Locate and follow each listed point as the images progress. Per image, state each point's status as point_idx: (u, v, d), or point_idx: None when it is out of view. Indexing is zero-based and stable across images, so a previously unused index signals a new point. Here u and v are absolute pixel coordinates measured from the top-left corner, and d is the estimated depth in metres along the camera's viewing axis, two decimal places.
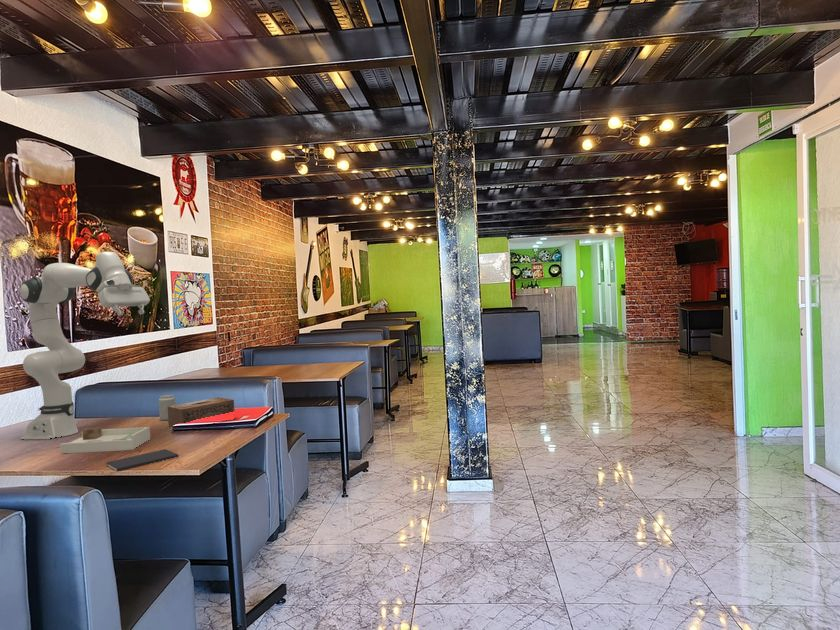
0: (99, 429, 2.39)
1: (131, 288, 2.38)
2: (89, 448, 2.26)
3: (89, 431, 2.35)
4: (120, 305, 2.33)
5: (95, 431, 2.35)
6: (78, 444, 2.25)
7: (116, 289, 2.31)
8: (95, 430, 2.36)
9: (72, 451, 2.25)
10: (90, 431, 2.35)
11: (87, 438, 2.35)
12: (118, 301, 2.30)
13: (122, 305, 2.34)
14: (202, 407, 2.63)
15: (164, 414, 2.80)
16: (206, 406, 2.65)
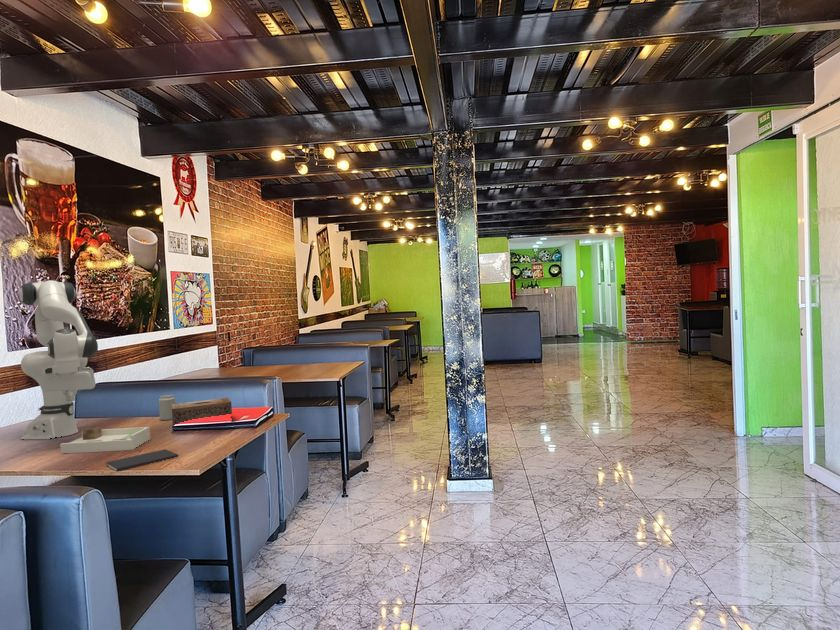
0: (99, 429, 2.39)
1: (74, 374, 2.35)
2: (89, 448, 2.26)
3: (89, 431, 2.35)
4: None
5: (95, 431, 2.35)
6: (78, 444, 2.25)
7: (55, 376, 2.34)
8: (95, 430, 2.36)
9: (72, 451, 2.25)
10: (90, 431, 2.35)
11: (87, 438, 2.35)
12: (55, 389, 2.34)
13: None
14: (195, 408, 2.63)
15: (164, 414, 2.80)
16: (199, 407, 2.63)
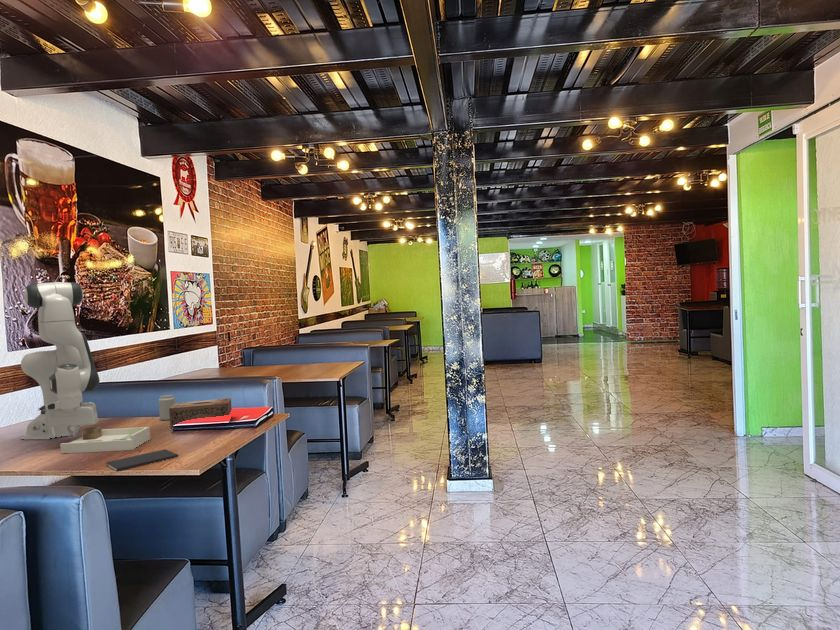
0: (99, 429, 2.39)
1: (76, 409, 2.35)
2: (89, 448, 2.26)
3: (89, 431, 2.35)
4: None
5: (95, 431, 2.35)
6: (78, 444, 2.25)
7: (58, 412, 2.34)
8: (95, 430, 2.36)
9: (72, 451, 2.25)
10: (90, 431, 2.35)
11: (87, 438, 2.35)
12: (57, 425, 2.35)
13: None
14: (192, 408, 2.63)
15: (164, 414, 2.80)
16: (196, 407, 2.63)
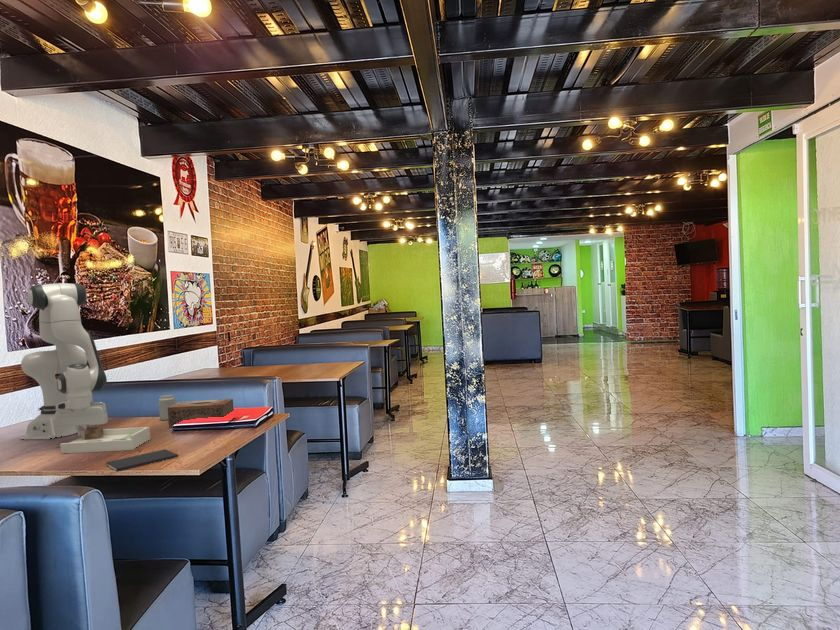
0: (101, 429, 2.38)
1: (86, 409, 2.35)
2: (89, 448, 2.26)
3: (91, 431, 2.35)
4: None
5: (97, 431, 2.35)
6: (78, 444, 2.25)
7: (68, 411, 2.34)
8: (97, 430, 2.35)
9: (72, 451, 2.25)
10: (92, 431, 2.35)
11: (89, 438, 2.35)
12: (67, 424, 2.35)
13: None
14: (189, 408, 2.63)
15: (164, 414, 2.80)
16: (193, 407, 2.63)
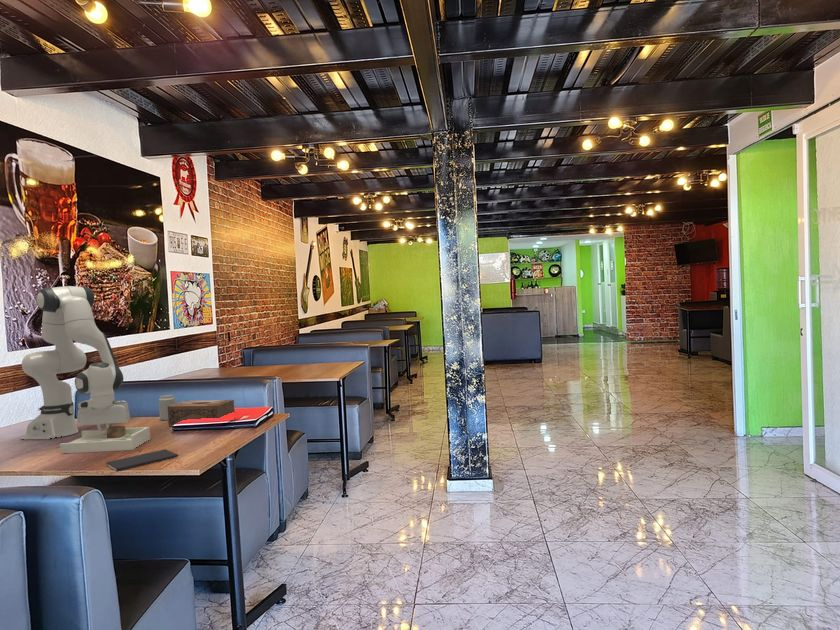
0: (123, 428, 2.39)
1: (109, 407, 2.35)
2: (89, 448, 2.26)
3: (113, 430, 2.35)
4: None
5: (119, 429, 2.36)
6: (78, 444, 2.25)
7: (91, 410, 2.35)
8: (119, 429, 2.36)
9: (72, 451, 2.25)
10: (114, 430, 2.35)
11: (111, 437, 2.35)
12: (90, 423, 2.35)
13: None
14: (186, 408, 2.64)
15: (164, 414, 2.80)
16: (190, 407, 2.64)
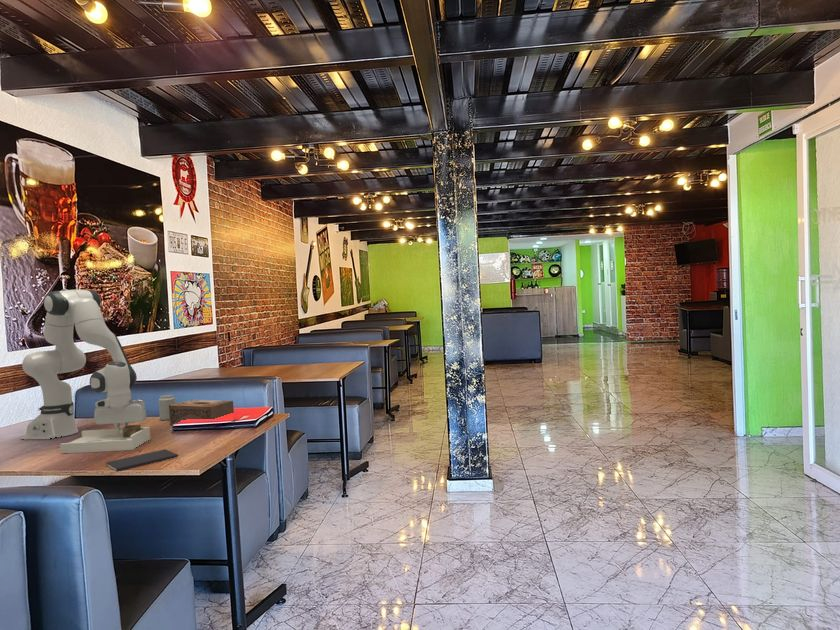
0: (139, 427, 2.39)
1: (126, 407, 2.35)
2: (89, 448, 2.26)
3: (129, 429, 2.35)
4: None
5: (135, 428, 2.36)
6: (78, 444, 2.25)
7: (107, 409, 2.35)
8: (135, 428, 2.36)
9: (72, 451, 2.25)
10: (130, 429, 2.35)
11: (127, 436, 2.35)
12: (107, 422, 2.35)
13: None
14: (184, 407, 2.65)
15: (164, 414, 2.80)
16: (188, 407, 2.64)
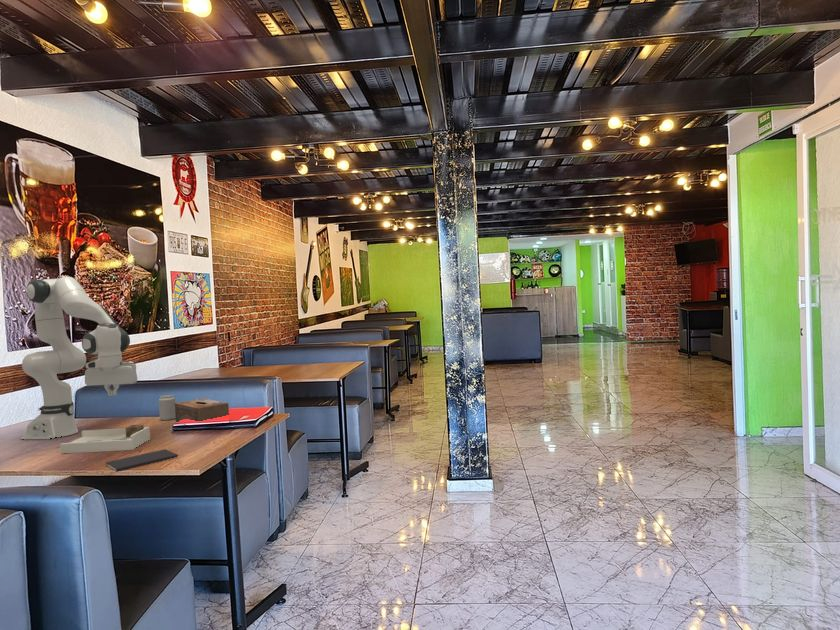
0: (141, 427, 2.39)
1: (116, 368, 2.35)
2: (89, 448, 2.26)
3: (132, 429, 2.35)
4: None
5: (138, 428, 2.36)
6: (78, 444, 2.25)
7: (98, 370, 2.34)
8: (138, 428, 2.36)
9: (72, 451, 2.25)
10: (133, 429, 2.35)
11: None
12: (97, 383, 2.35)
13: None
14: (183, 406, 2.67)
15: (164, 414, 2.80)
16: (185, 407, 2.66)
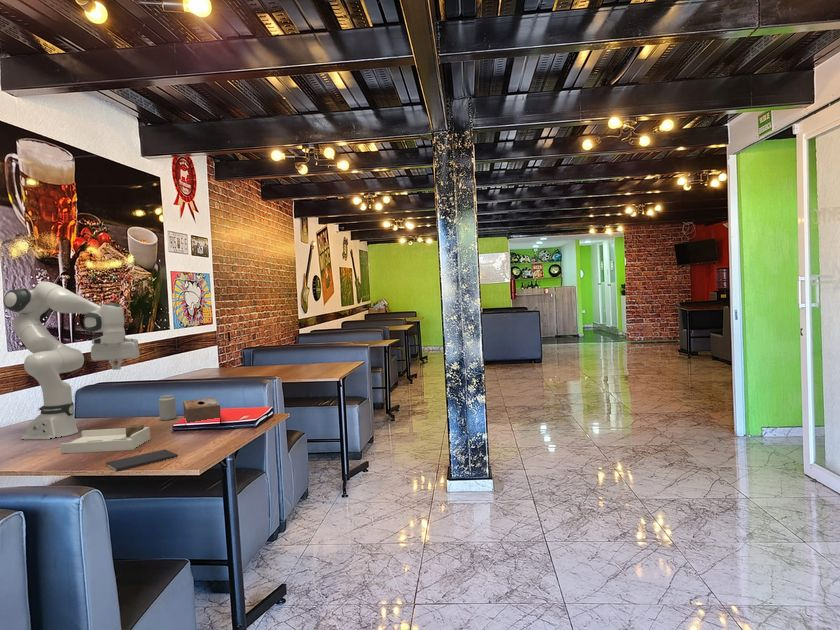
0: (141, 427, 2.39)
1: (120, 344, 2.54)
2: (89, 448, 2.26)
3: (132, 429, 2.35)
4: None
5: (138, 428, 2.36)
6: (78, 444, 2.25)
7: (103, 346, 2.53)
8: (138, 428, 2.36)
9: (72, 451, 2.25)
10: (133, 429, 2.35)
11: None
12: (102, 358, 2.54)
13: None
14: (184, 405, 2.70)
15: (164, 414, 2.80)
16: (184, 406, 2.68)
